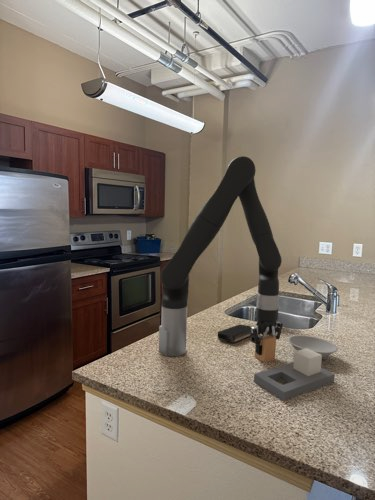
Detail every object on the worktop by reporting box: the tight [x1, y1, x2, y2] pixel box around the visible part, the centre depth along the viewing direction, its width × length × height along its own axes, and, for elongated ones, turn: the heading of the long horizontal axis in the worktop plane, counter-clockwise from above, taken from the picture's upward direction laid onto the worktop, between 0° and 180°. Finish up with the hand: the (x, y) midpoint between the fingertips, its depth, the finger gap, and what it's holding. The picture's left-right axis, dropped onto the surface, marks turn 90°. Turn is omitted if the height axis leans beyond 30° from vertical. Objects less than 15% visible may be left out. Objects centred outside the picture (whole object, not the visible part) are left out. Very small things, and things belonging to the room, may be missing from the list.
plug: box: [254, 334, 277, 363], centre depth 121 cm, size 5×5×8 cm
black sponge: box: [217, 324, 252, 343], centre depth 141 cm, size 16×8×4 cm, turn 135°
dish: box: [287, 334, 339, 358], centre depth 123 cm, size 18×14×5 cm
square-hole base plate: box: [253, 348, 336, 401], centre depth 104 cm, size 22×12×8 cm, turn 121°
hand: (265, 352), depth 121 cm, fingers closed on plug, 5 cm apart
